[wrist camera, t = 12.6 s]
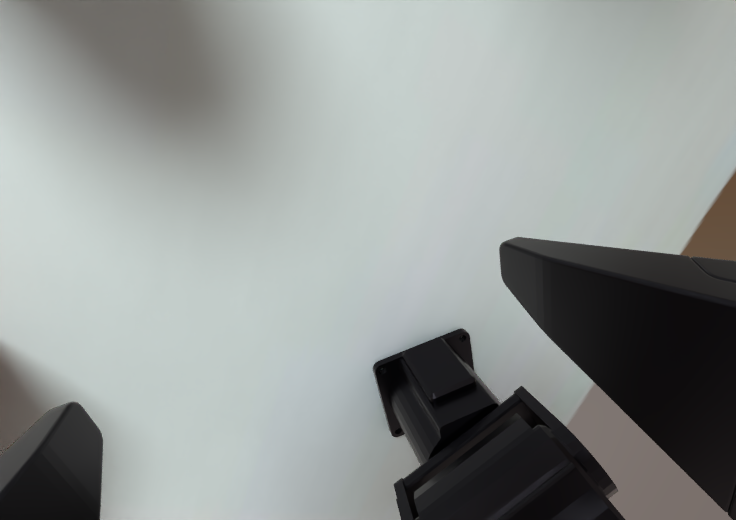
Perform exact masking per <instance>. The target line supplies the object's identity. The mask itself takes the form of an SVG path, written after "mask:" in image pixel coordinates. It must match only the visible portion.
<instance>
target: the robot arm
mask: <svg viewBox="0 0 736 520" xmlns="http://www.w3.org/2000/svg"><path fill="white" fill-rule="evenodd" d="M499 252H500V264H501V275H502V279H503V281H504V283H505V285H506V286H507V287H508V289H509V290H510V291H511V292H512V294H513V295H514V296H515V297H516V298H517V300H518V301H519V302H520V303H521V305H522V306H523V307H524V308H525V310H526V311H527V312H528V313H529V315H530V316H531V317H532V318H533V320H534V321H535V322H536V323H537V324H538V326H539V327H540V328H541V329H542V330H543V331H544V332H545V334H546V335H547V336H548V337H549V338H550V339H551V340H552V341H553V342H554V343H555V344H556V345H557V346H558V347H559V348H560V349H561V350H562V351H563V352H564V353H565V354H566V355H567V356H568V357H569V358H570V359H571V360H572V361H573V362H574V363H575V364H576V365H578V366H579V367H580V368H581V369H582V370H583V371H584V372H585V373H586V374H587V375H588V376H589V377H590V378H591V379H592V380H593V381H594V382H595V383H596V384H597V385H598V386H599V387H600V388H601V389H602V390H603V391H604V392H605V393H606V394H607V395H608V396H609V397H610V398H611V399H612V400H613V401H614V402H615V403H616V404H617V405H618V406H619V407H620V408H621V409H622V410H623V411H624V412H625V413H626V414H627V415H628V416H629V417H630V418H631V419H632V420H633V421H634V422H635V423H636V424H637V425H638V426H639V427H640V428H641V429H642V430H643V431H644V432H645V433H646V434H647V435H648V436H649V437H650V438H651V439H652V440H653V441H654V442H655V443H656V444H657V445H658V446H659V447H660V448H661V449H662V450H663V451H664V452H666V453H667V455H668V456H669V457H670V458H672V460H673V461H675V463H676V464H677V465H679V466H680V467H681V468H682V469H683V470H684V471H685V472H686V473H687V474H688V475H689V476H690V477H691V478H692V479H693V480H694V481H695V482H696V483H697V484H698V485H699V486H700V487H701V488H702V489H703V490H704V491H705V492H706V493H707V494H708V495H709V496H710V497H711V498H712V499H713V500H714V501H715V502H716V503H717V504H718V505H719V506H720V507H721V508H722V509H723V510H724V511H725V512H728V515H729V516H730V517H731V518H732V519H733V520H736V261H730V260H720V259H711V258H702V257H692V258H690V257H689V256H683V255H674V254H666V253H657V252H648V251H639V250H630V249H621V248H612V247H603V246H594V245H585V244H576V243H567V242H558V241H549V240H540V239H531V238H522V237H516V238H513V239H510V240H508V241H505V242H503V243H502V244H501V245H500V249H499ZM462 335H463V336H462ZM461 336H462V337H461ZM460 337H461V338H460ZM381 368H383V369H382V370H380V369H381ZM373 372H374V375H375V379H376V382H377V386H378V390H379V393H380V397H381V401H382V404H383V408H384V412H385V415H386V419H387V423H388V426H389V430H390V432H391V434H392V436H394V437H399V436H401V435H404V434H405V435H406V437H407V439H408V441H409V443H410V445H411V447H412V449H413V451H414V453H415V455H416V457H417V459H418V461H419V463H420V465H421V466H420V467H419V468H417V469H416V470H415V471H413V472H412V473H411V474H409V475H408V476H407V477H406V478H404V479H403V478H401V479H400V480H399V481H397V482H396V483H395V484H394V488H395V491H396V495H397V499H396V501H397V504H398V508H399V512H400V516H401V520H625V519H624V518H623V516H622V515H621V514H620V513H619V512H618V510H617V509H616V508H615V507H614V506H613V505H612V503H611V502H610V501H609V500H608V499H609V498H610V497H611V496H613V495H614V494H615V493H616V492H618V489H617V487H616V486H615V484H614V483H613V481H612V480H611V478H610V477H609V476H608V475H607V473H606V472H605V470H604V469H603V468H602V467H601V465H600V464H599V463H598V462H597V461H596V459H595V458H594V457H593V456H592V455H591V453H590V452H589V451H588V450H587V449H586V448H585V447H584V446H583V445H582V443H581V442H580V441H579V440H578V439H577V438H576V437H575V436H574V435H573V434H572V433H571V432H570V431H569V430H568V429H567V428H566V427H565V426H564V425H563V424H562V423H561V422H560V421H559V420H558V419H557V418H556V417H555V416H554V415H553V414H551V413H550V412H549V411H548V410H547V409H546V408H545V407H544V406H543V405H542V404H541V403H540V402H539V401H537V400H536V399H535V398H534V397H533V396H532V395H531V394H530V393H529V392H528V391H527V390H526V389H524V388H523V387H522V386H521V387H519V388H518V389H517V390H515V391H514V393H515V394H513V395H512V396H511V397H509V398H508V399H507V400H505V401H504V402H503V403H502V404H501V403H500V402H499V401H498V399H497V398H496V397H495V396H494V395H493V393H492V392H491V391H490V390H489V389H488V388H487V386H486V385H485V384H484V383H483V382H482V380H481V379H480V378H479V377H478V376H477V374H476V373H475V372H474V367H473V359H472V351H471V343H470V336H469V334H468V332H467V331H466V330H464V329H458V330H455V331H453V332H450V333H448V334H445V335H443V336H440V337H438V338H435V339H433V340H430V341H428V342H425V343H423V344H420V345H418V346H415V347H413V348H410V349H408V350H405V351H403V352H400V353H398V354H395V355H393V356H390V357H388V358H385V359H383V360H380V361H378V362H376V363H375V364H374V366H373ZM396 429H397V430H396ZM102 456H103V438H102V434H101V432H100V430H99V428H98V427H97V426H96V424H95V423H94V422H93V420H92V419H91V418H90V416H89V415H88V414H87V412H86V411H85V410H84V408H83V407H82V406H81V405H80V404H79V403H77V402H69V403H66V404H64V405H61V406H58V407H56V408H53V409H51V410H49V411H48V412H47V413H46V414H45V415H44V416H43V417H42V418H40V419H39V420H38V421H37V422H36V423H35V424H34V425H33V426H32V427H31V428H30V429H29V430H27V431H26V432H25V433H24V434H23V435H22V436H21V437H20V438H19V439H18V440H17V441H16V442H14V443H13V444H12V445H11V446H10V447H9V448H8V449H7V450H6V451H5V452H4V453H3V454H1V455H0V520H100V508H101V483H102Z"/></svg>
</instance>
